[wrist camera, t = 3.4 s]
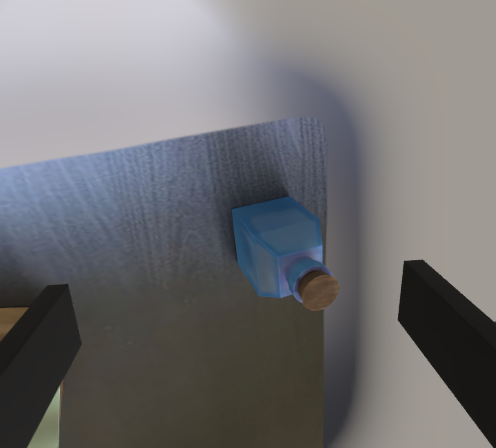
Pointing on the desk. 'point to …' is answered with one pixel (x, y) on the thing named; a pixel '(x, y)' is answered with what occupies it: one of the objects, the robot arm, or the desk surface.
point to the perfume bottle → (283, 252)
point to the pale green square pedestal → (47, 433)
